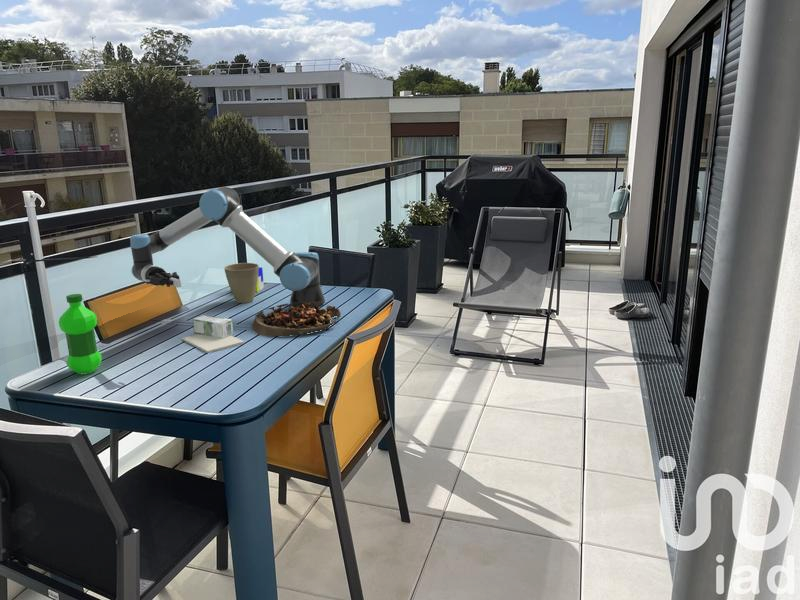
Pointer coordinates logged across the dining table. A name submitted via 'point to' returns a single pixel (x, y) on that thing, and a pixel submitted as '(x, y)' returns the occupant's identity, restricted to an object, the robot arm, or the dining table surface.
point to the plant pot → (242, 280)
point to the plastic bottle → (80, 336)
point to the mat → (212, 342)
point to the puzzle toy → (260, 280)
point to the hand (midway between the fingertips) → (178, 283)
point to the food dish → (294, 320)
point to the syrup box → (213, 326)
